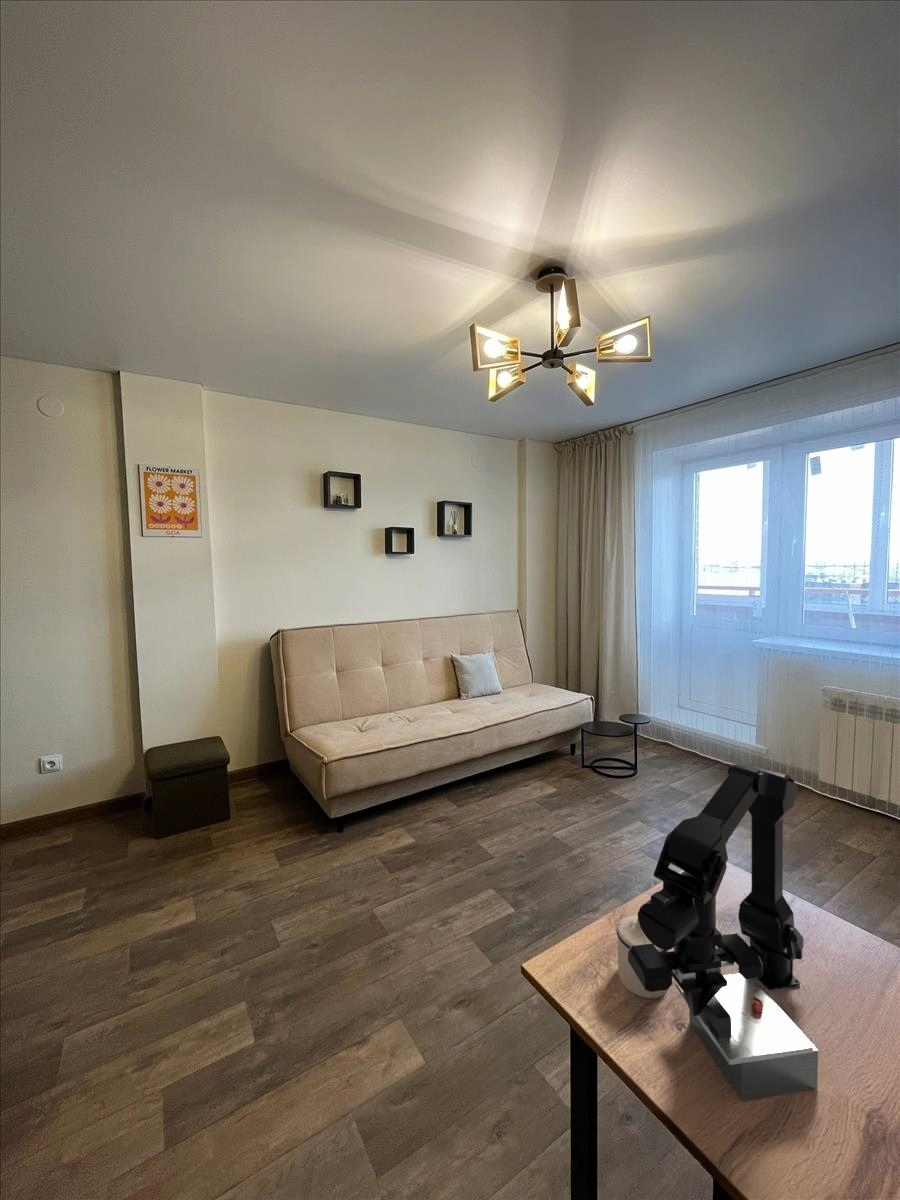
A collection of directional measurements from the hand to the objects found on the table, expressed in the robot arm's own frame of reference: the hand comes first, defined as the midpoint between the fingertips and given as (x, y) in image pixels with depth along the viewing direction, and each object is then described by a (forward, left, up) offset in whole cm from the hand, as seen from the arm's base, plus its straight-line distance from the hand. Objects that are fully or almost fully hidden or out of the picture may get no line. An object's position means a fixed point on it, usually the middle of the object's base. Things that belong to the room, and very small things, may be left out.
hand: (693, 1013), depth 73 cm
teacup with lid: (-1, -16, -8) cm, 18 cm away
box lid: (-7, 0, -2) cm, 8 cm away
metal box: (-9, 0, -8) cm, 12 cm away
